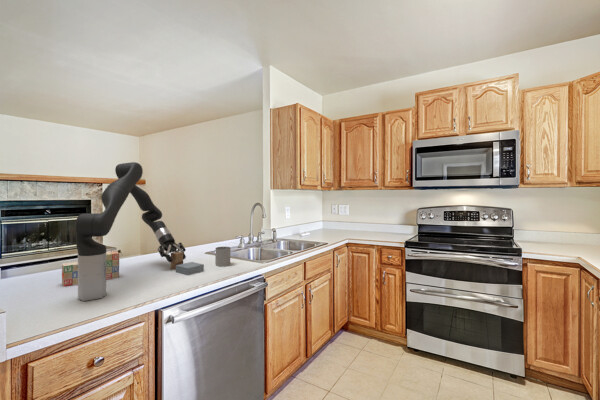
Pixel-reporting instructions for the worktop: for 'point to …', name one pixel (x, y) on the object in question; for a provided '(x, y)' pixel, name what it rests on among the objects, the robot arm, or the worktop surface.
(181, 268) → the slate block
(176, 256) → the walnut block
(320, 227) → the worktop surface
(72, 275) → the stack of blocks
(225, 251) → the cup
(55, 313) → the worktop surface
